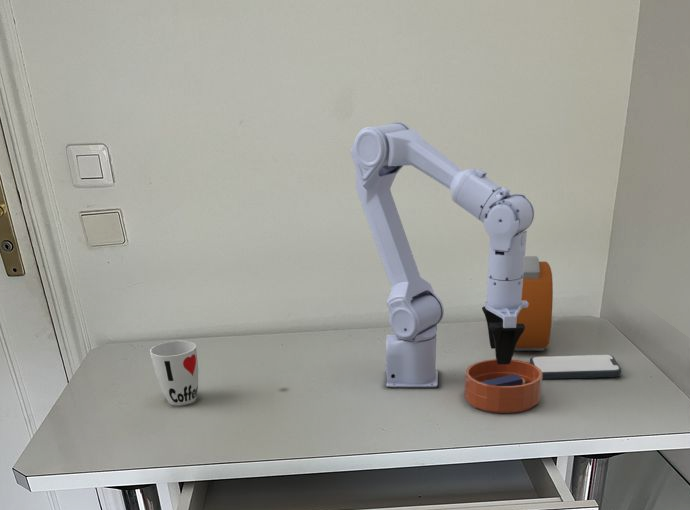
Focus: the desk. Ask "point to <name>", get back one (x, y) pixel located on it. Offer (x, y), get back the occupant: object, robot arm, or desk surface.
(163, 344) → the cup
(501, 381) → the pencil
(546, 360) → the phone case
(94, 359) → the desk surface
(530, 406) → the bowl
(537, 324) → the alarm clock
